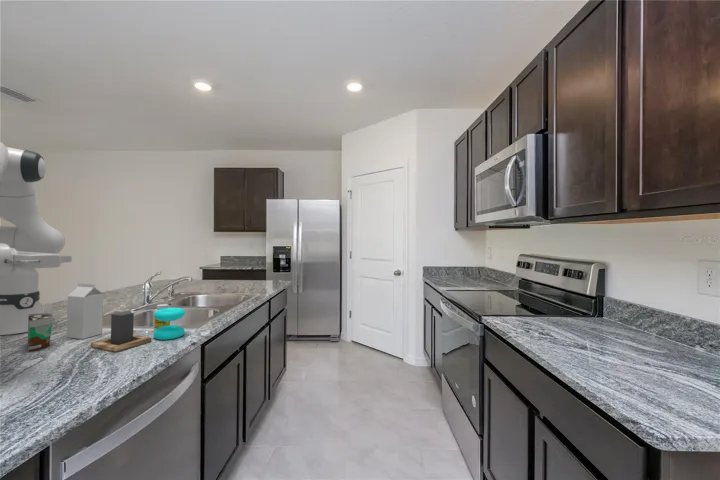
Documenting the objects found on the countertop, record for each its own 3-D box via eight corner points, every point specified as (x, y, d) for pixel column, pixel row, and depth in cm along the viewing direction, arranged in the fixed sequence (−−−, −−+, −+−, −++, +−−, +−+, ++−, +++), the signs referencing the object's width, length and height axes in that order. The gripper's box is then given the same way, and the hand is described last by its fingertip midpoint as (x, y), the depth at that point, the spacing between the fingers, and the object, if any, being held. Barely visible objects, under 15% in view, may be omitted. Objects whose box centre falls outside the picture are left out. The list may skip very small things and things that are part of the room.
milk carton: (82, 339, 114) (84, 285, 114) (66, 337, 116) (68, 284, 116) (102, 333, 121) (103, 283, 121) (86, 332, 123) (88, 282, 123)
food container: (56, 348, 105) (56, 317, 105) (28, 353, 100) (29, 321, 100) (52, 339, 113) (53, 311, 113) (27, 343, 109) (28, 313, 109)
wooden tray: (90, 347, 107) (90, 342, 107) (127, 337, 118) (127, 332, 118) (115, 352, 103) (115, 347, 103) (151, 341, 114) (151, 337, 114)
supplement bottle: (171, 326, 133) (172, 303, 133) (167, 330, 128) (167, 306, 128) (157, 327, 132) (157, 303, 132) (151, 331, 127) (152, 306, 127)
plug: (110, 344, 109) (111, 306, 109) (123, 340, 113) (125, 303, 113) (119, 345, 108) (120, 307, 108) (132, 342, 112) (133, 305, 112)
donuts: (174, 313, 115) (147, 312, 116) (174, 341, 116) (146, 340, 116) (190, 307, 125) (165, 306, 126) (189, 333, 125) (164, 332, 126)
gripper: (19, 249, 80) (83, 248, 93) (-26, 246, 87) (39, 246, 100) (18, 275, 80) (82, 270, 93) (-27, 270, 87) (39, 266, 100)
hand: (59, 258), depth 97 cm, fingers open, 8 cm apart
